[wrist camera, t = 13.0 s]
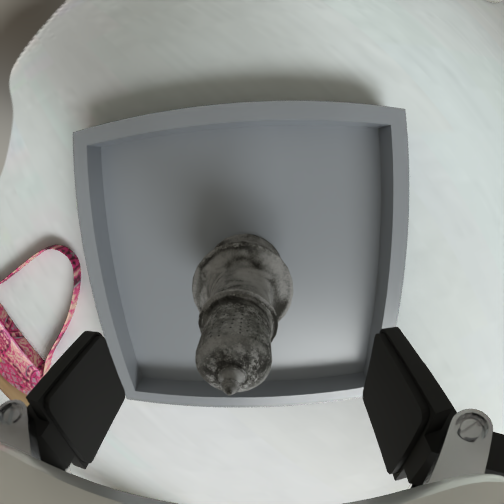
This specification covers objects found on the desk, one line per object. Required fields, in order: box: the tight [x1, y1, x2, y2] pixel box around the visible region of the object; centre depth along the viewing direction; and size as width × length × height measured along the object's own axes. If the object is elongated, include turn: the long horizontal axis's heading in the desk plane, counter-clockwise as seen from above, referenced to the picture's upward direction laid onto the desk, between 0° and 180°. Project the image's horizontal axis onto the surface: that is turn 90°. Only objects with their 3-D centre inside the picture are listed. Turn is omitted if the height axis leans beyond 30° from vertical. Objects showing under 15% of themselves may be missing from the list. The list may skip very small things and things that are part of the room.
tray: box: [73, 101, 409, 407], centre depth 19 cm, size 22×22×3 cm
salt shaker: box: [192, 234, 293, 395], centre depth 14 cm, size 6×6×12 cm
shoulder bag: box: [0, 245, 81, 407], centre depth 23 cm, size 17×3×28 cm
